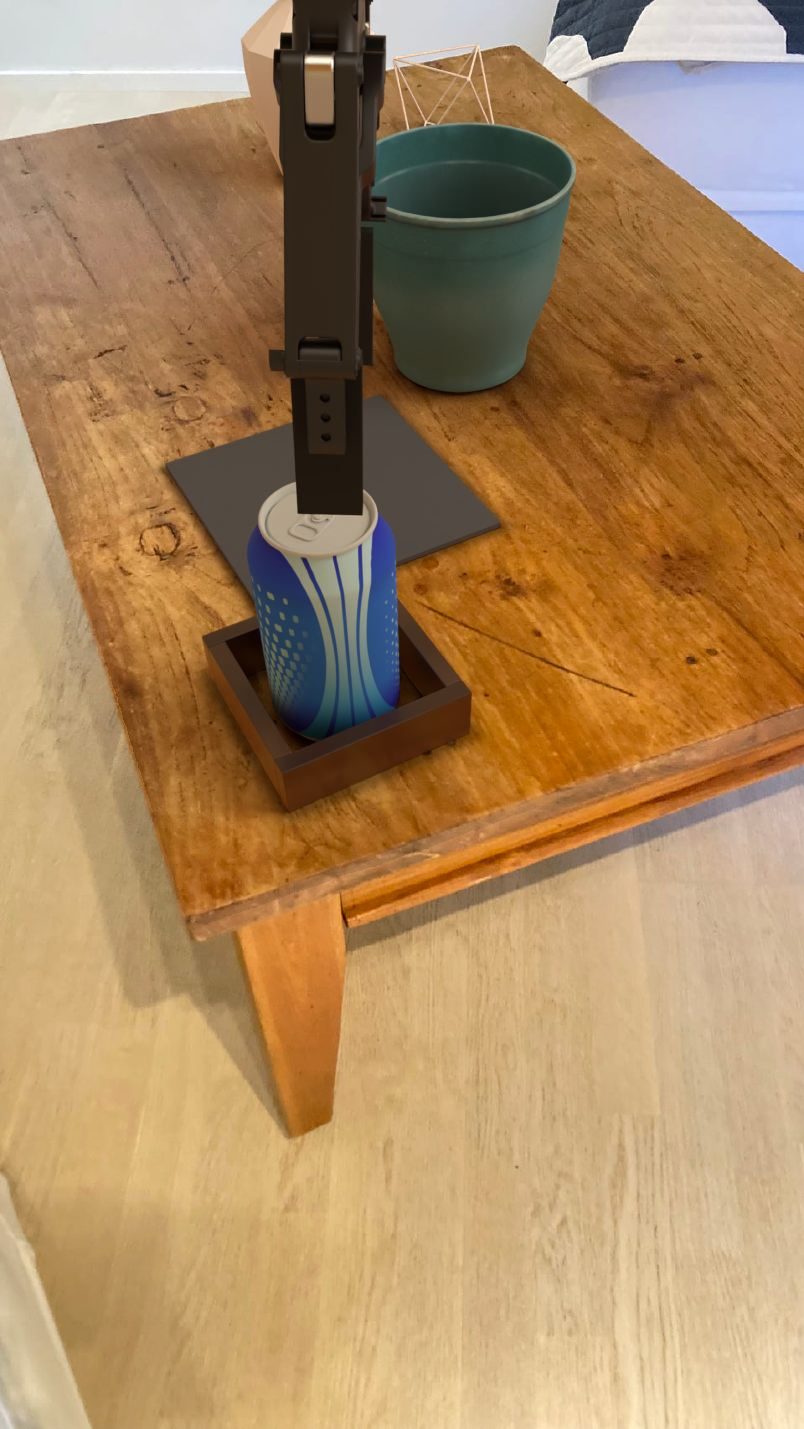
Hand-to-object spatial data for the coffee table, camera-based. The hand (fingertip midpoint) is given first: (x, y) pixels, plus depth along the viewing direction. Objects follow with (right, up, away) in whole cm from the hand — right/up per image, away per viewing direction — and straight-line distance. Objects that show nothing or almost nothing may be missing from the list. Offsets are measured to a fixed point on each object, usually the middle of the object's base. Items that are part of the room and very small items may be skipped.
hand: (339, 429), depth 49 cm
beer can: (-1, -13, +21) cm, 25 cm away
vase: (-7, +49, +74) cm, 89 cm away
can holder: (-1, -13, +21) cm, 25 cm away
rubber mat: (-3, +4, +35) cm, 36 cm away
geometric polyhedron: (+8, +56, +79) cm, 97 cm away
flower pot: (+8, +19, +48) cm, 52 cm away
